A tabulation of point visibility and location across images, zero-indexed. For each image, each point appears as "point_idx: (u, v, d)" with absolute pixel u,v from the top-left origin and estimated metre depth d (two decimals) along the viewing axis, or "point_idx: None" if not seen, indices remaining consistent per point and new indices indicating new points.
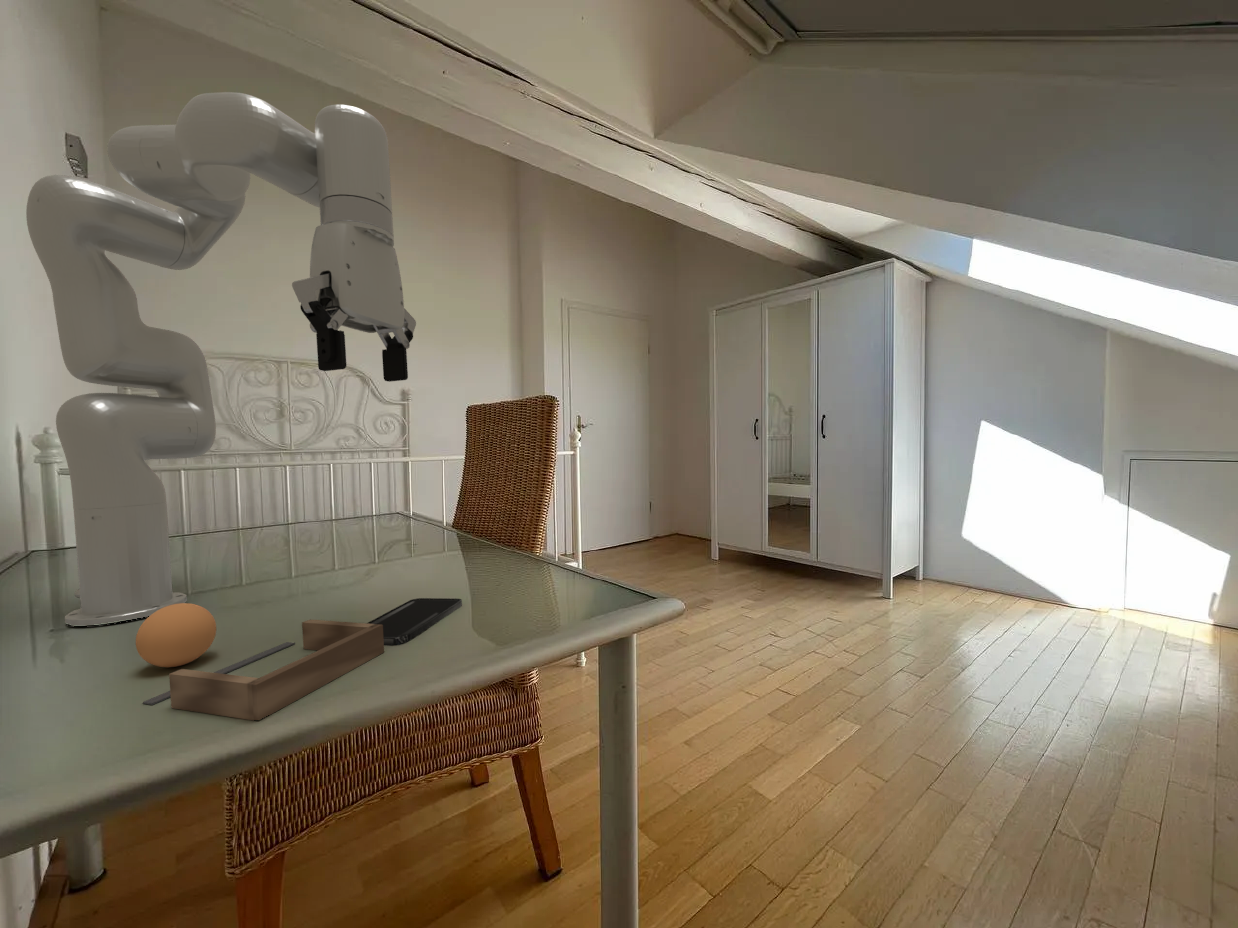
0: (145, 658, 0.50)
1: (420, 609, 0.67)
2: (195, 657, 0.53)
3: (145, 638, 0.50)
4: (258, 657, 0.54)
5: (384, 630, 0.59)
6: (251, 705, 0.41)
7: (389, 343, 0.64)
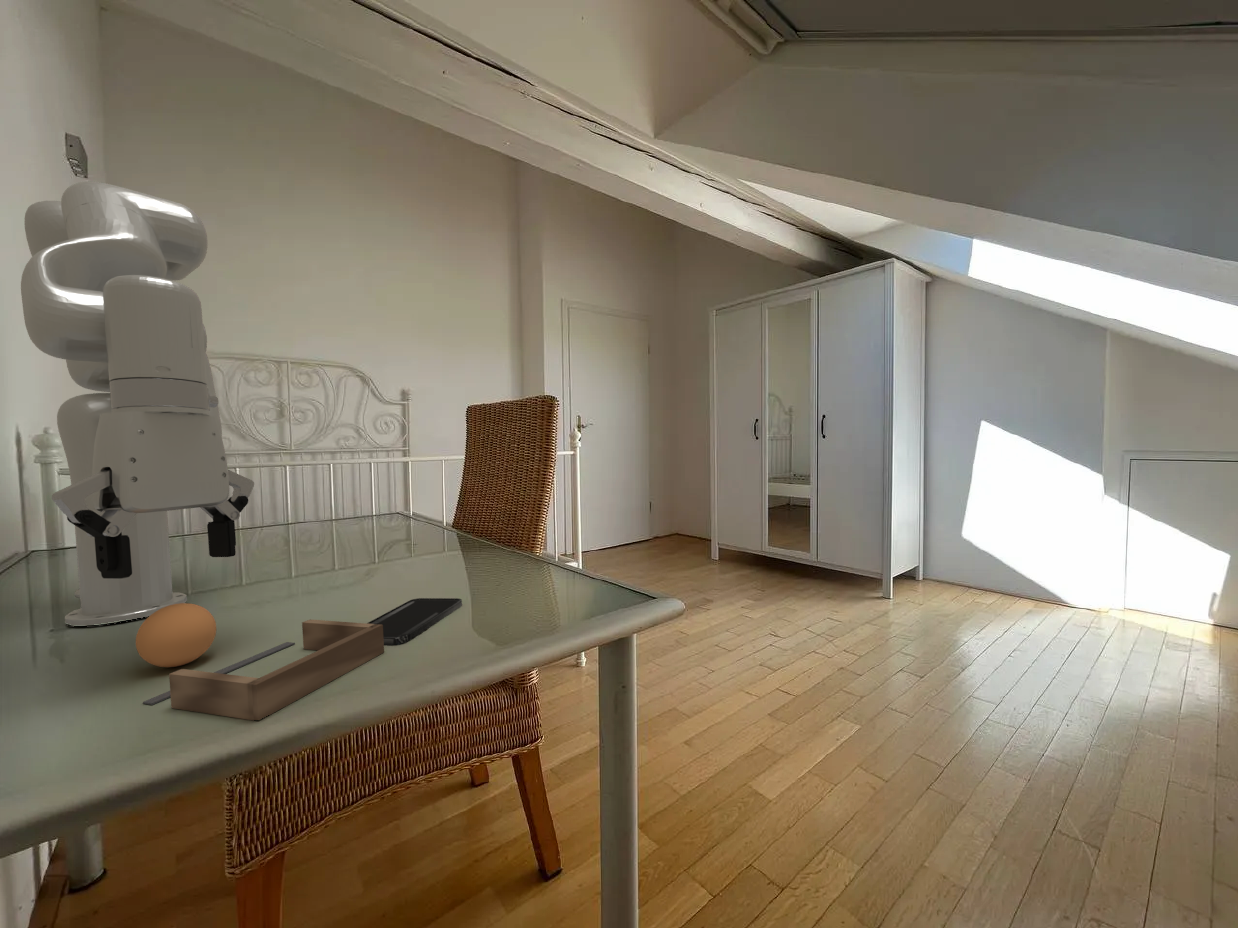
0: (145, 658, 0.50)
1: (420, 609, 0.67)
2: (195, 657, 0.53)
3: (145, 638, 0.50)
4: (258, 657, 0.54)
5: (384, 630, 0.59)
6: (251, 705, 0.41)
7: (215, 515, 0.57)
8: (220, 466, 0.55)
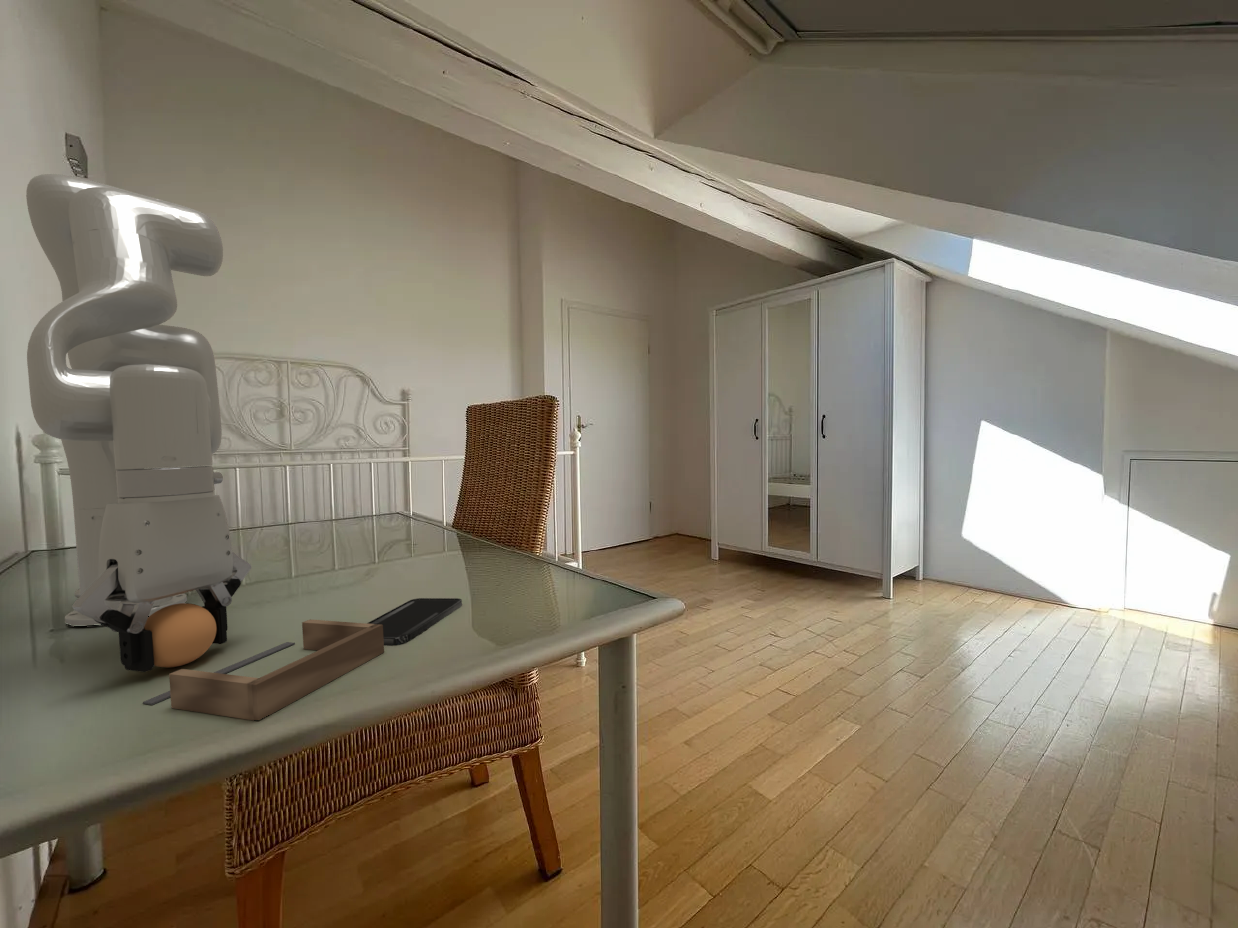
0: None
1: (420, 609, 0.67)
2: (195, 657, 0.53)
3: None
4: (258, 657, 0.54)
5: (384, 630, 0.59)
6: (251, 705, 0.41)
7: (207, 598, 0.57)
8: (224, 545, 0.56)
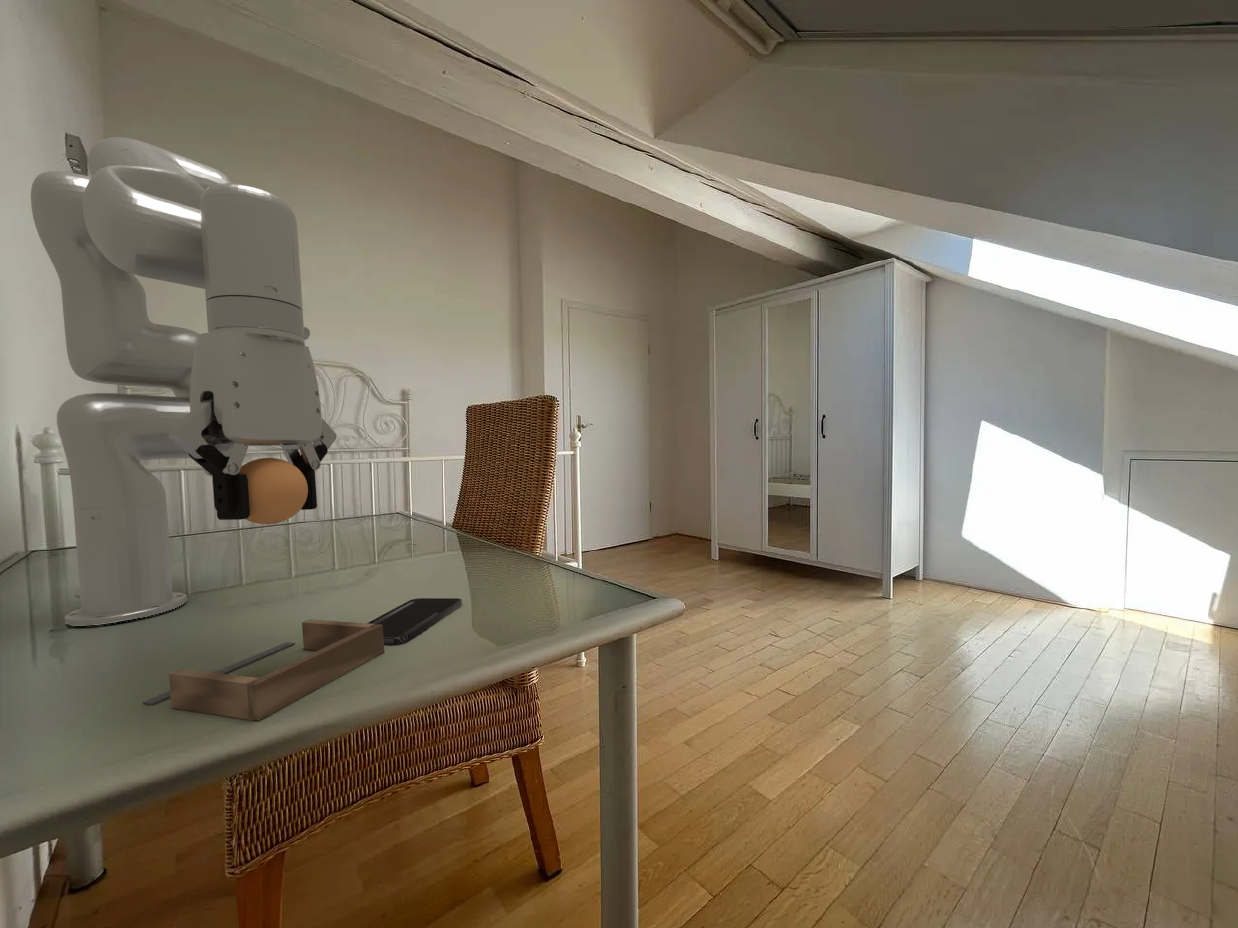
0: None
1: (420, 609, 0.67)
2: (289, 514, 0.48)
3: None
4: (258, 657, 0.54)
5: (384, 630, 0.59)
6: (251, 705, 0.41)
7: (295, 462, 0.52)
8: (314, 401, 0.51)
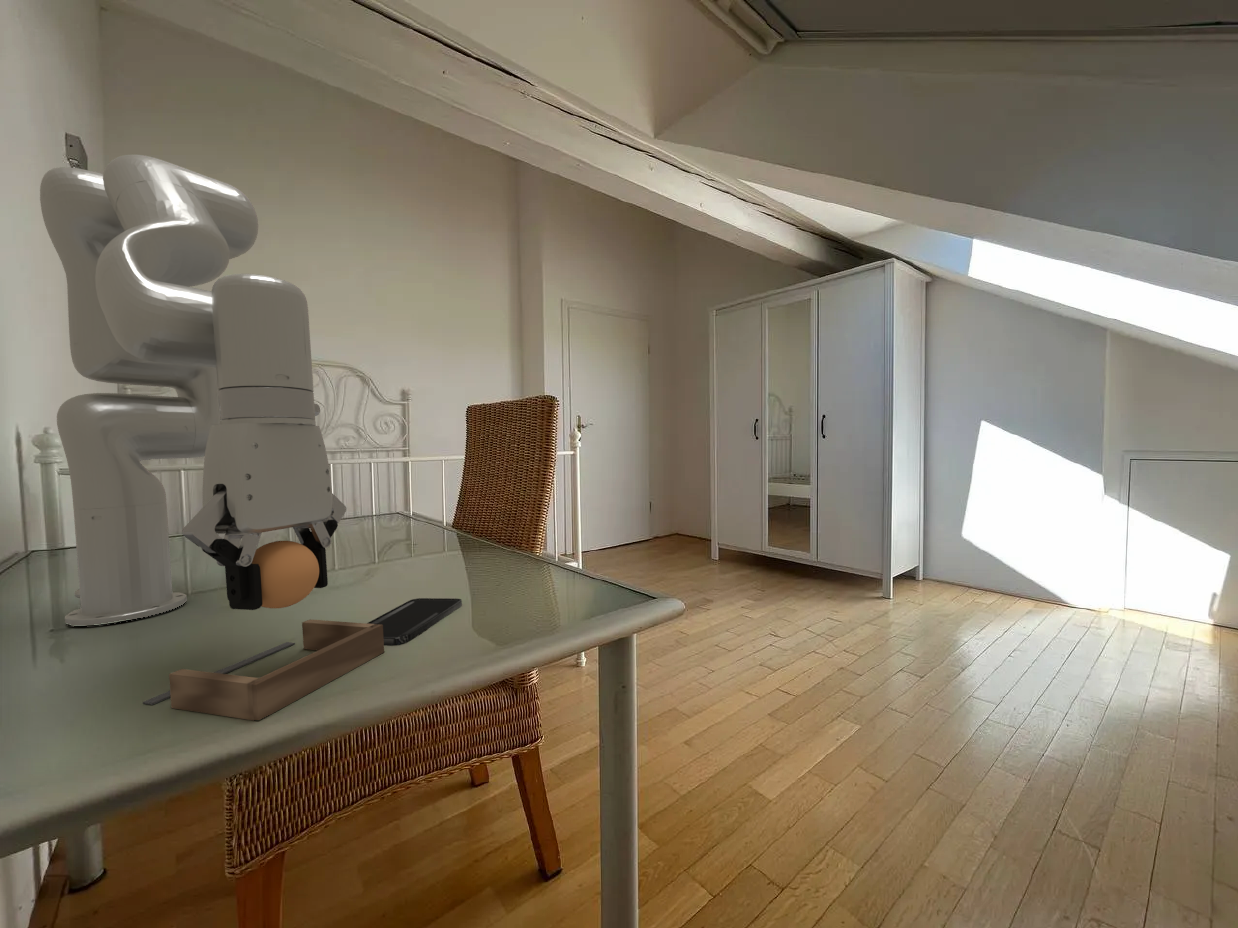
0: None
1: (420, 609, 0.67)
2: (301, 598, 0.48)
3: None
4: (258, 657, 0.54)
5: (384, 630, 0.59)
6: (251, 705, 0.41)
7: (305, 539, 0.52)
8: (325, 480, 0.51)
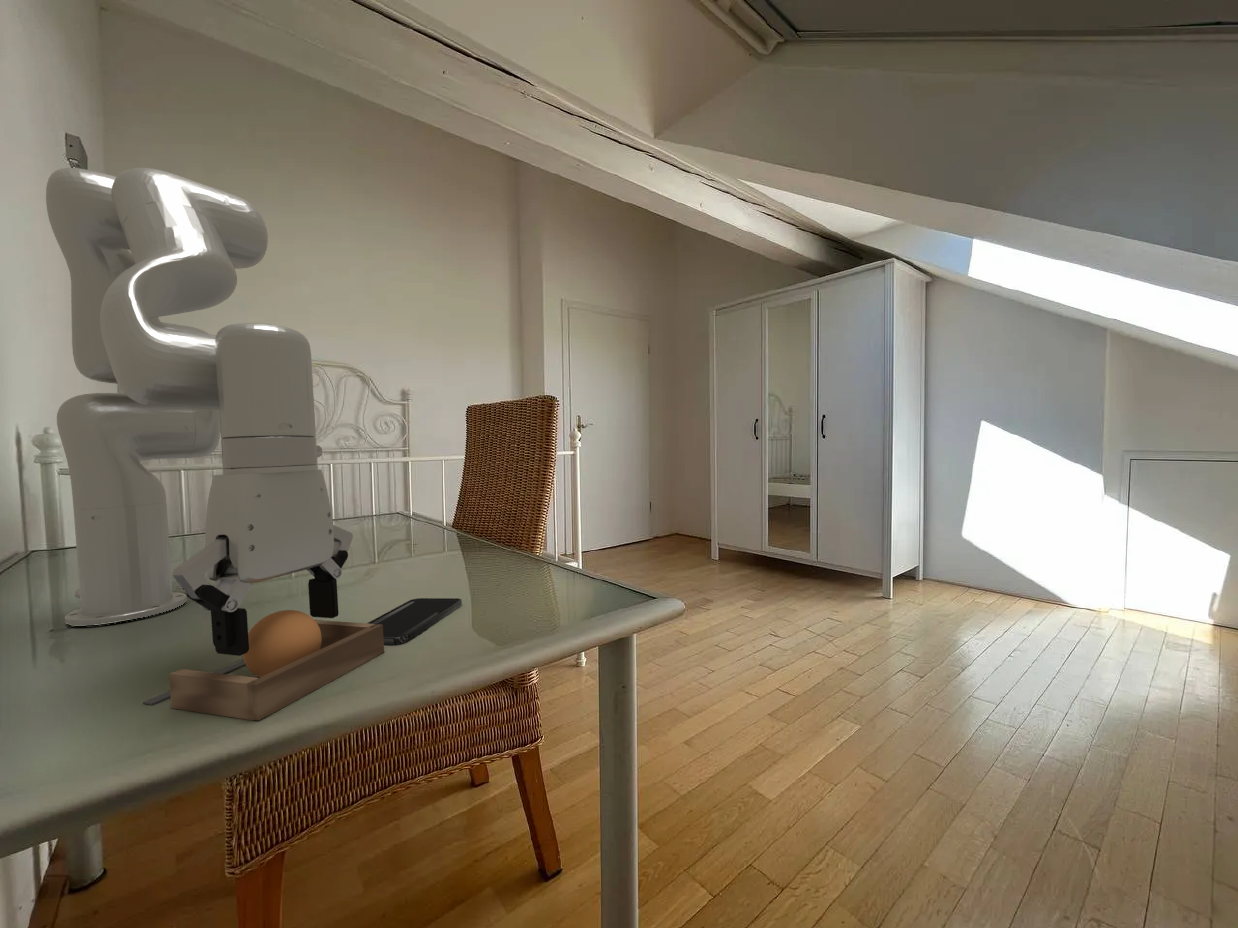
0: (254, 671, 0.46)
1: (420, 609, 0.67)
2: None
3: (255, 649, 0.46)
4: None
5: (384, 630, 0.59)
6: (251, 705, 0.41)
7: (317, 572, 0.54)
8: (327, 523, 0.52)
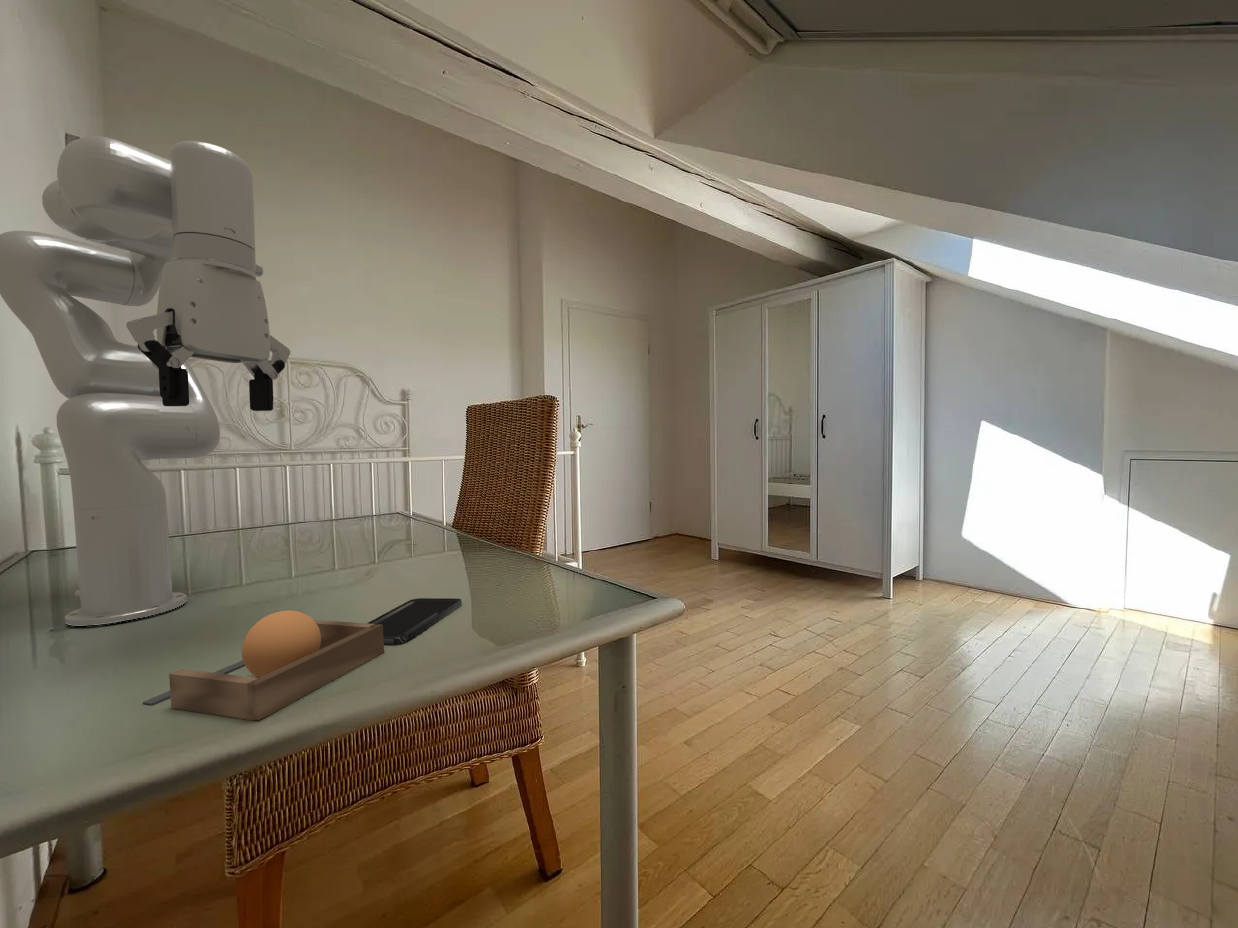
0: (254, 672, 0.46)
1: (419, 609, 0.67)
2: None
3: (254, 651, 0.46)
4: None
5: (384, 630, 0.59)
6: (251, 705, 0.41)
7: (256, 373, 0.64)
8: (263, 327, 0.62)
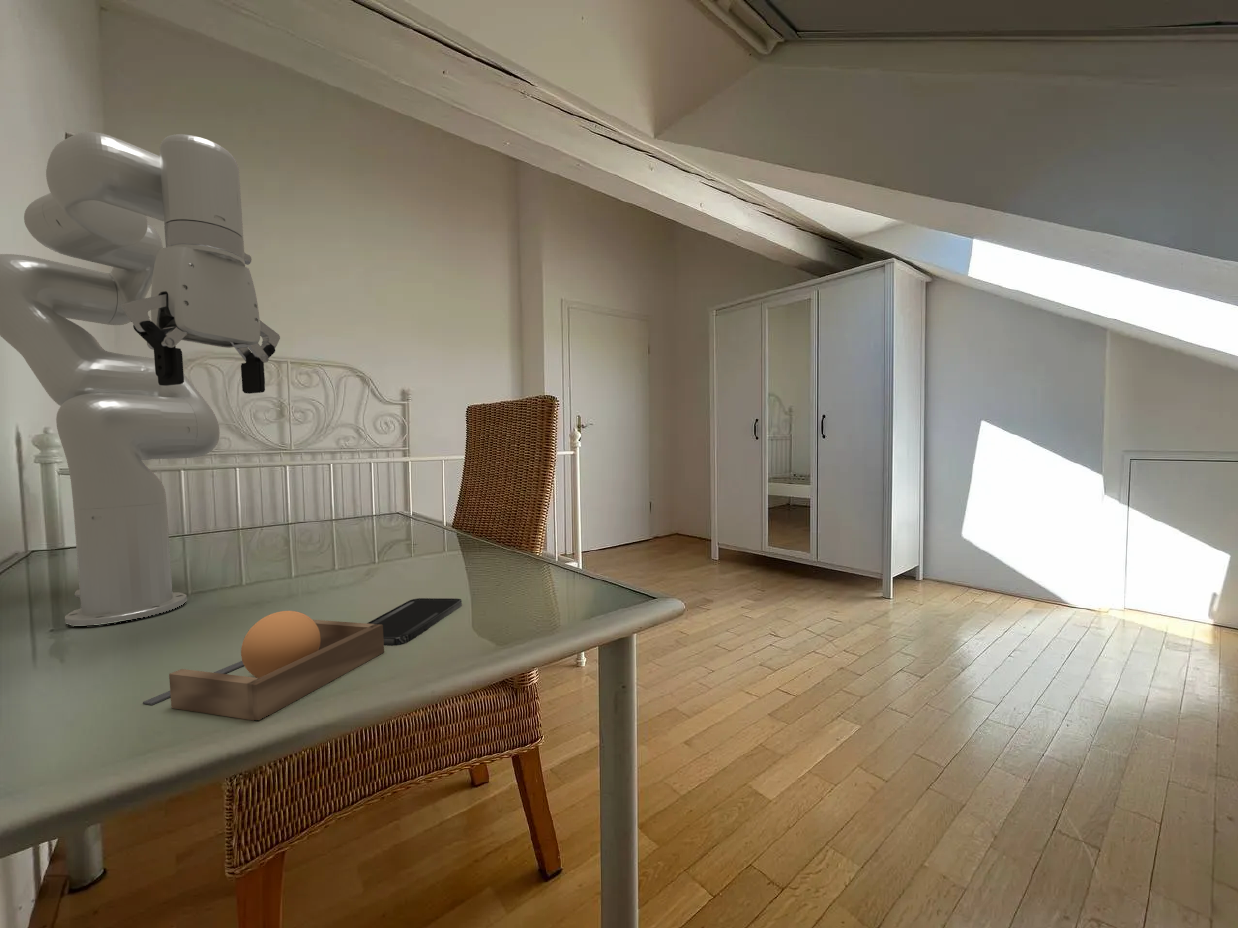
0: (254, 673, 0.46)
1: (419, 609, 0.67)
2: None
3: (254, 652, 0.46)
4: None
5: (384, 630, 0.59)
6: (251, 705, 0.41)
7: (248, 357, 0.67)
8: (253, 312, 0.65)
